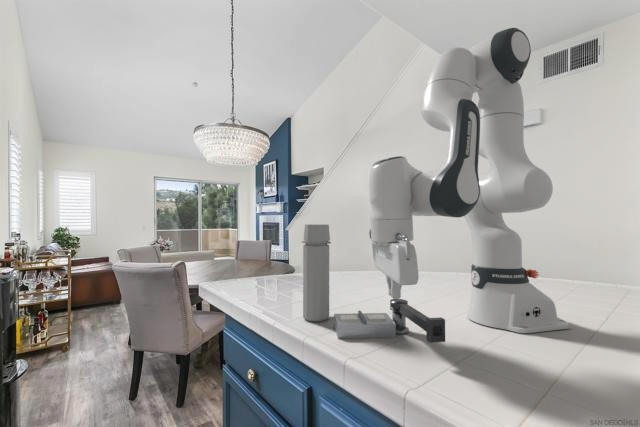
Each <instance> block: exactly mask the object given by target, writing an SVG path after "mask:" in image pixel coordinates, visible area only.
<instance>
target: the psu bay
mask: <svg viewBox="0 0 640 427" xmlns="http://www.w3.org/2000/svg"><path fill="white" fill-rule="evenodd" d="M333 316H334V317H333V323H334V324H333V327H334V330H335V334H336V336H337V339H377V338H378V339H385V338H387V339H388V338H389V339H390V338H391V339H393V338H397V334H396V324H395V322H394V321H393V320H392V318H391V317H390V315H388V313H387V312H372V313H371V312H366V313H365V312H364V313H363V312H362V311H361V310H358V311H357V313H354V312H353V313H334V314H333Z"/></svg>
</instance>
